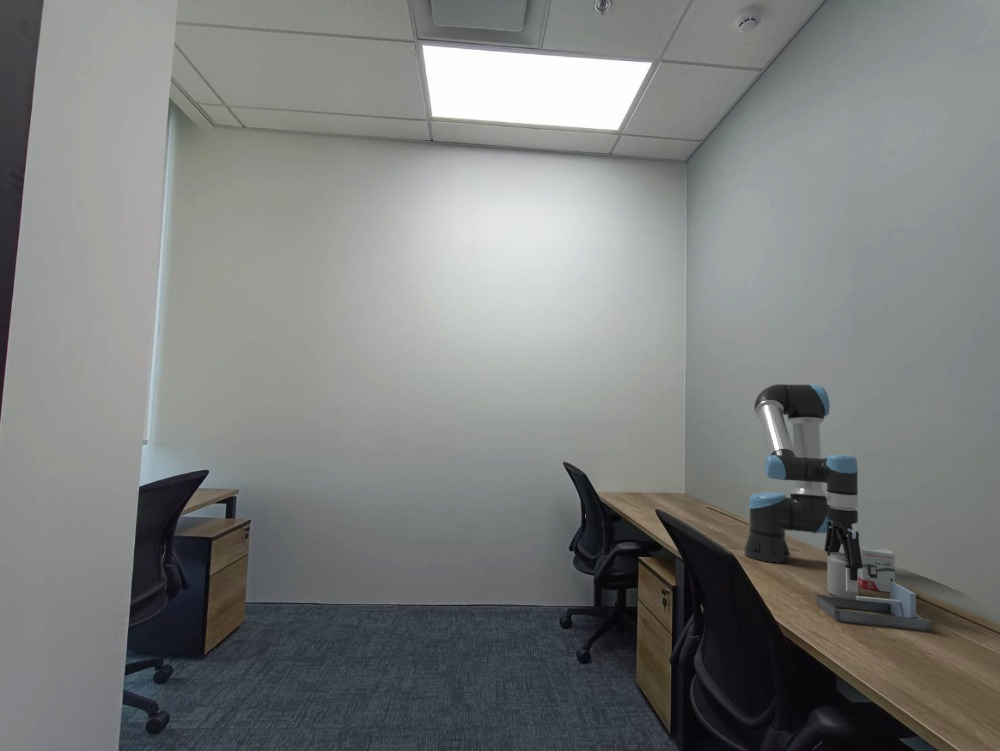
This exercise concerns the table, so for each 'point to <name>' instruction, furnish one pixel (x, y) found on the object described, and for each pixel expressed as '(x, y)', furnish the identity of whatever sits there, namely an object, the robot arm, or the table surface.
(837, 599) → the frame
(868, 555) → the ink box
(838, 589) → the can
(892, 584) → the pusher
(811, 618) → the table surface
